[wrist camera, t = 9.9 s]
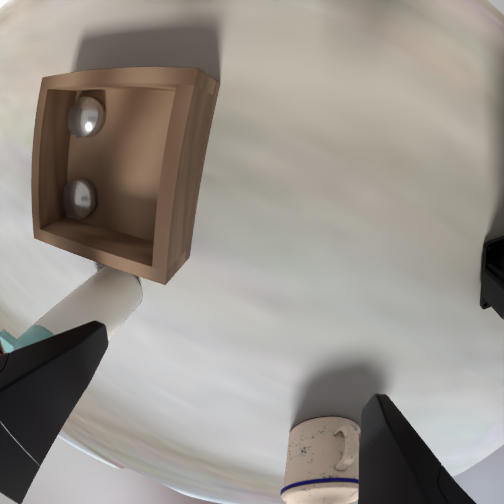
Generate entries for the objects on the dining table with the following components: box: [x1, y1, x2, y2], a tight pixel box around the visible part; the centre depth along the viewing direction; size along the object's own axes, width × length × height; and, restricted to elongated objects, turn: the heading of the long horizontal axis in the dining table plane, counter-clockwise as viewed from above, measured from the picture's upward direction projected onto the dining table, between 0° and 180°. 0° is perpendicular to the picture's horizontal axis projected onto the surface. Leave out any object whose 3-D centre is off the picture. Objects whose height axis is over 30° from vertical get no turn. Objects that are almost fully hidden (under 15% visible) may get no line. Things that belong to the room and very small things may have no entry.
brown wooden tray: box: [31, 67, 220, 285], centre depth 17 cm, size 13×13×4 cm
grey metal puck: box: [62, 178, 98, 220], centre depth 19 cm, size 3×3×1 cm
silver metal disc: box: [68, 97, 106, 138], centre depth 17 cm, size 3×3×1 cm
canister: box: [0, 265, 142, 353], centre depth 18 cm, size 7×5×12 cm
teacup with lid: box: [281, 417, 360, 504], centre depth 22 cm, size 12×9×12 cm
